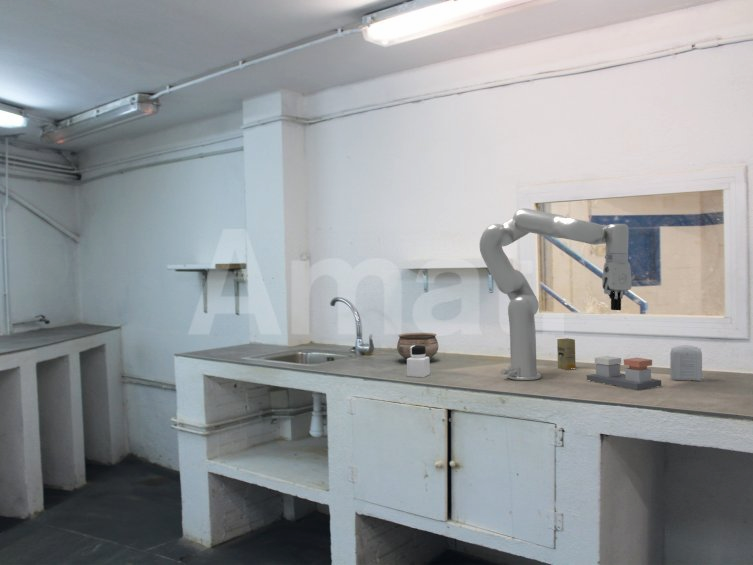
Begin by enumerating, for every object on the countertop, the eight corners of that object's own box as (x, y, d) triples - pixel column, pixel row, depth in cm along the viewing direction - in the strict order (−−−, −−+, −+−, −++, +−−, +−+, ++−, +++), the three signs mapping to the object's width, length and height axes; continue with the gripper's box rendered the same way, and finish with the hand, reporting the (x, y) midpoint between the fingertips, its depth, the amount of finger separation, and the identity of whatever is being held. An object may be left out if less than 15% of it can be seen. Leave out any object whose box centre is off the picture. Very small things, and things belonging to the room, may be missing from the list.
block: (637, 390, 208) (636, 372, 208) (586, 380, 228) (586, 364, 228) (661, 385, 214) (661, 368, 214) (610, 376, 234) (609, 360, 233)
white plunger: (608, 376, 222) (608, 359, 222) (595, 374, 228) (594, 357, 228) (621, 374, 225) (621, 358, 225) (607, 372, 231) (607, 356, 231)
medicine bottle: (430, 374, 251) (429, 344, 251) (423, 377, 245) (422, 347, 244) (413, 373, 254) (412, 344, 254) (406, 376, 248) (406, 346, 247)
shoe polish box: (568, 367, 257) (567, 338, 257) (575, 369, 253) (574, 339, 252) (557, 368, 256) (557, 339, 256) (565, 370, 251) (564, 340, 251)
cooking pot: (418, 356, 301) (417, 331, 301) (450, 359, 289) (450, 333, 288) (384, 363, 282) (383, 336, 282) (417, 367, 270) (417, 338, 270)
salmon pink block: (639, 379, 211) (639, 361, 211) (624, 376, 217) (623, 359, 216) (652, 377, 214) (652, 359, 214) (636, 374, 220) (636, 357, 219)
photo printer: (701, 379, 224) (700, 344, 224) (703, 381, 220) (702, 346, 219) (669, 378, 227) (669, 344, 227) (671, 380, 223) (670, 346, 223)
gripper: (609, 258, 216) (608, 311, 216) (640, 258, 222) (639, 310, 223) (593, 258, 222) (592, 310, 223) (623, 258, 229) (622, 308, 230)
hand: (615, 309), depth 223 cm, fingers closed
